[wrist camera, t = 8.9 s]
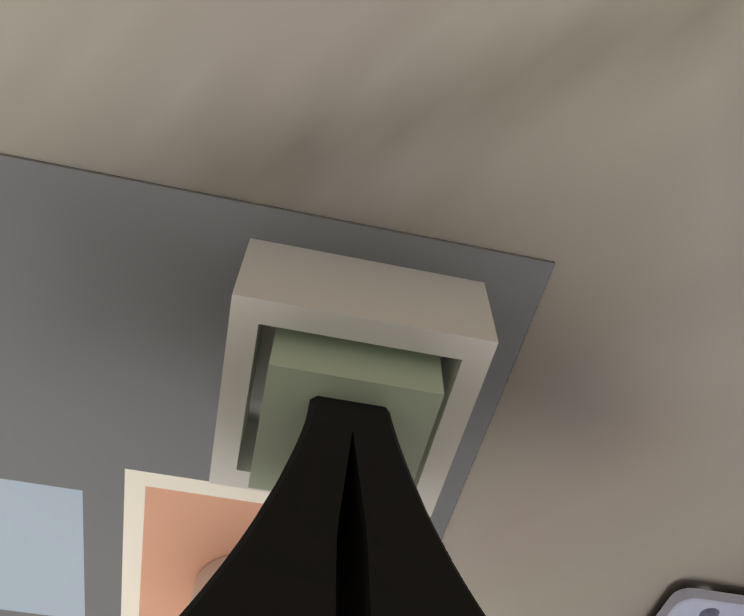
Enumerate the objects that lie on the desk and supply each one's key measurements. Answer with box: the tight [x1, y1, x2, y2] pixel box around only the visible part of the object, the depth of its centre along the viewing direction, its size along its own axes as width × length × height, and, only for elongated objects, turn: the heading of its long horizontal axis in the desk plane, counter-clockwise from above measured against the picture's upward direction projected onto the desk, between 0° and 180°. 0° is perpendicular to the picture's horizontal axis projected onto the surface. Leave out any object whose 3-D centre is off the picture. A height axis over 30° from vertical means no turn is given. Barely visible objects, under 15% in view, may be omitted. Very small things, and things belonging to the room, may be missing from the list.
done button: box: [248, 327, 444, 491], centre depth 13 cm, size 3×3×2 cm
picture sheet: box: [0, 153, 555, 616], centre depth 17 cm, size 15×15×1 cm
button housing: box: [209, 238, 499, 517], centre depth 14 cm, size 5×5×2 cm
